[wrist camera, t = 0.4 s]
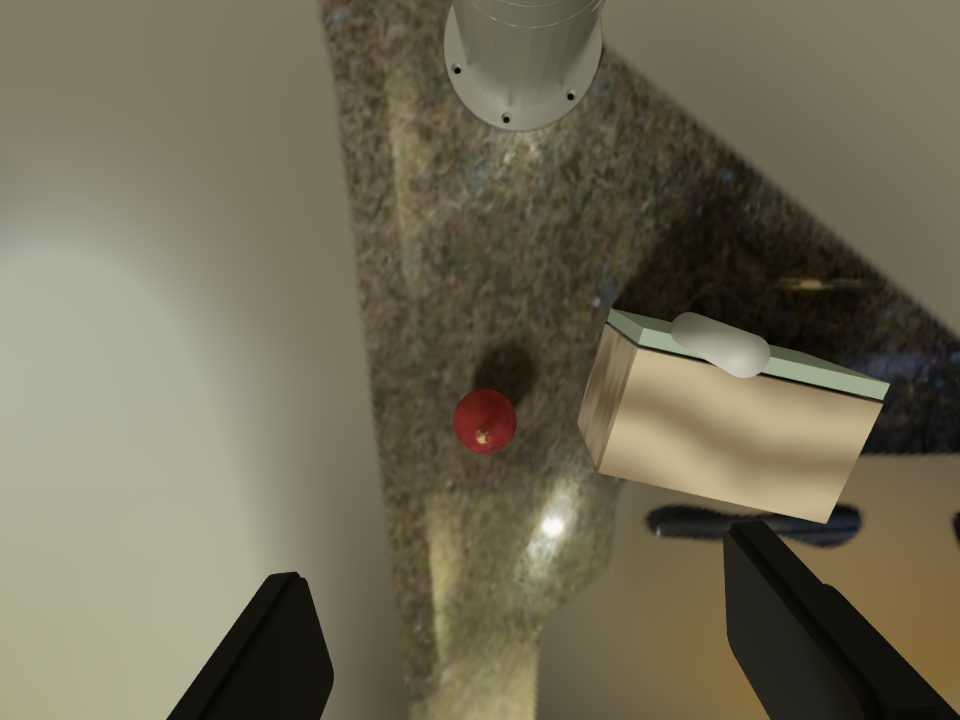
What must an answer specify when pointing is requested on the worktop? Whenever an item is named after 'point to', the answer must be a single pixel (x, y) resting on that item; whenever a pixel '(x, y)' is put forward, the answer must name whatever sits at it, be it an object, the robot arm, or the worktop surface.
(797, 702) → the robot arm
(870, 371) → the worktop surface
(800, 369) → the cupboard door
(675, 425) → the cupboard
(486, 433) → the onion
